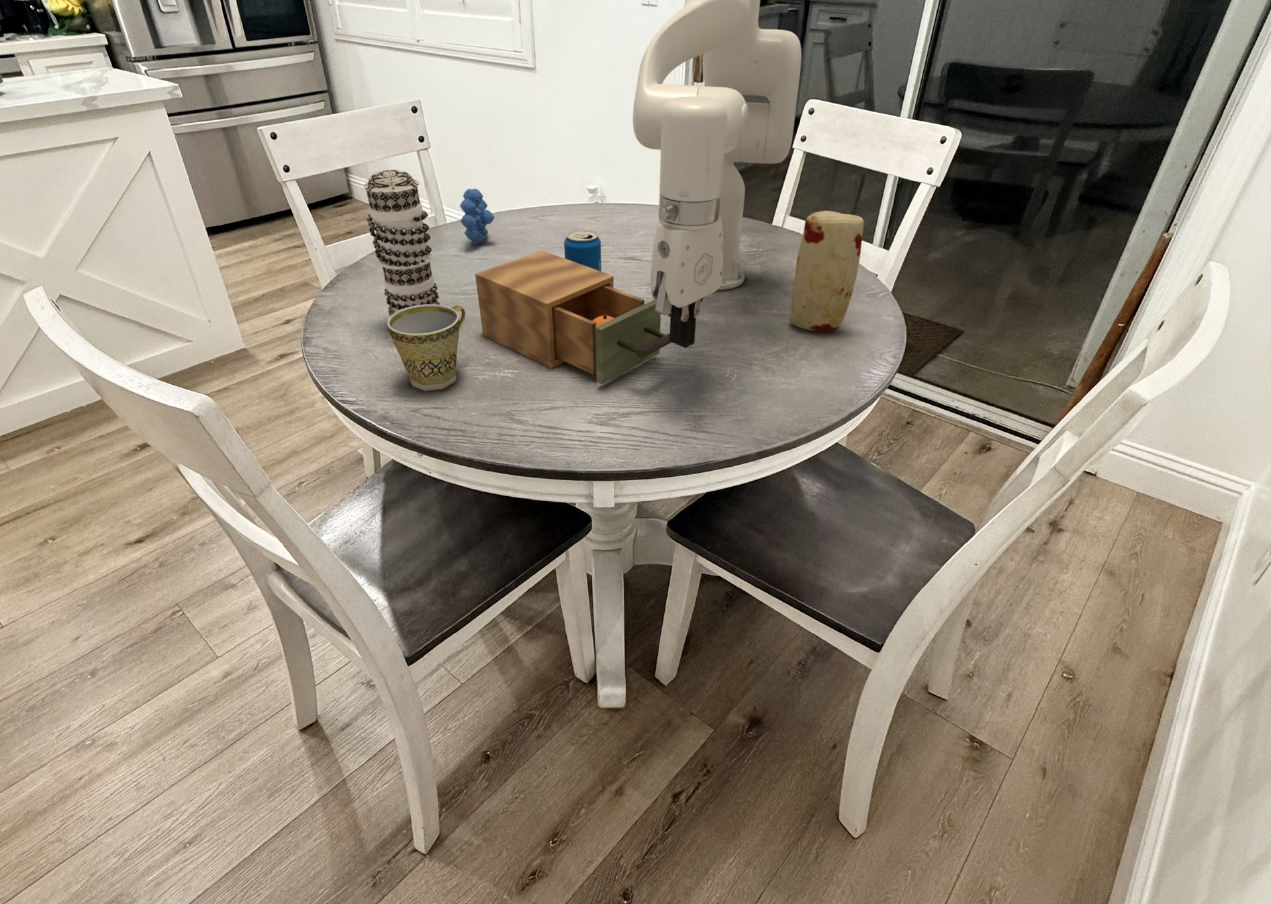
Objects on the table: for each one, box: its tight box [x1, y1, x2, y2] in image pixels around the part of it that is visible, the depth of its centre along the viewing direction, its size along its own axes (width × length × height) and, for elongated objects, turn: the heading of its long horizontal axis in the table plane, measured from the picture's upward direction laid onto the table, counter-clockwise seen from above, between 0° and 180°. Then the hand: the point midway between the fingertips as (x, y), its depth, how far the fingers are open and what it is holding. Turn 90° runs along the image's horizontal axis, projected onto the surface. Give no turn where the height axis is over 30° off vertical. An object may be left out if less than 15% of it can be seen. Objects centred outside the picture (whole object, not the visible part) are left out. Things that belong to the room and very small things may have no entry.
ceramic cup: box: [386, 304, 466, 392], centre depth 104 cm, size 13×10×10 cm
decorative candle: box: [363, 169, 441, 317], centre depth 113 cm, size 9×9×25 cm
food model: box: [788, 210, 865, 334], centre depth 115 cm, size 10×7×20 cm
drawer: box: [552, 285, 672, 386], centre depth 107 cm, size 21×13×9 cm, turn 49°
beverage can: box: [563, 229, 602, 272], centre depth 127 cm, size 6×6×12 cm
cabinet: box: [474, 250, 615, 369], centre depth 115 cm, size 17×14×11 cm
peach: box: [593, 314, 614, 327], centre depth 108 cm, size 6×6×6 cm
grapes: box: [459, 188, 496, 245], centre depth 149 cm, size 12×7×12 cm, turn 173°
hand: (681, 342), depth 98 cm, fingers closed
